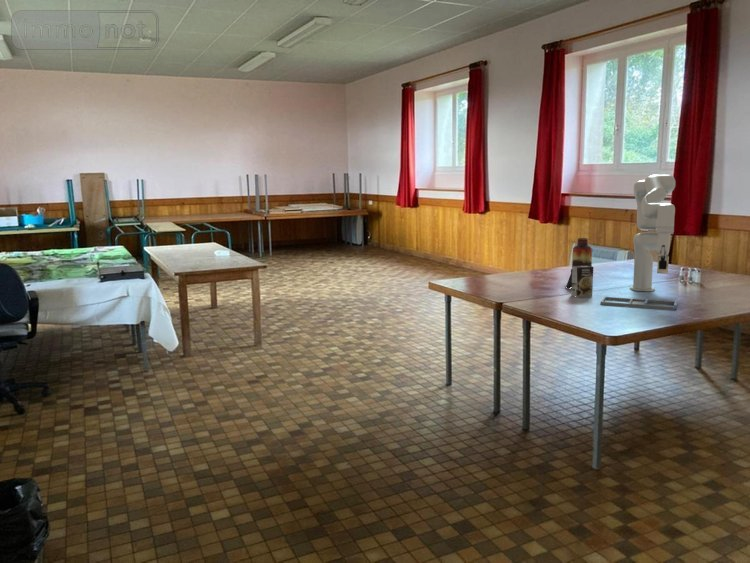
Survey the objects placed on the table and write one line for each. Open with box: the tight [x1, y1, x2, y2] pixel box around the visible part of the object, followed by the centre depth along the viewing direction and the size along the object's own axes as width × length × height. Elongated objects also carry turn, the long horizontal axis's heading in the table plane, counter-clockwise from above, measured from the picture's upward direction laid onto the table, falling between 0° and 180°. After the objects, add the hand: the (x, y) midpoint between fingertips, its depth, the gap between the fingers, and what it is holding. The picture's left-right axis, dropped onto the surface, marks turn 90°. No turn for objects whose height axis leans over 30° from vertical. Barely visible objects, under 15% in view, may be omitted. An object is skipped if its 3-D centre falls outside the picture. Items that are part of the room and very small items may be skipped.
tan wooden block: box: [656, 255, 670, 275], centre depth 294 cm, size 4×4×8 cm
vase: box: [571, 237, 593, 267], centre depth 366 cm, size 11×11×26 cm
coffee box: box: [570, 265, 594, 298], centre depth 325 cm, size 9×6×16 cm
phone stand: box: [565, 268, 572, 288], centre depth 346 cm, size 9×6×12 cm, turn 44°
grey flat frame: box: [599, 296, 678, 311], centre depth 302 cm, size 14×34×2 cm, turn 62°
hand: (662, 267), depth 294 cm, fingers closed on tan wooden block, 4 cm apart
